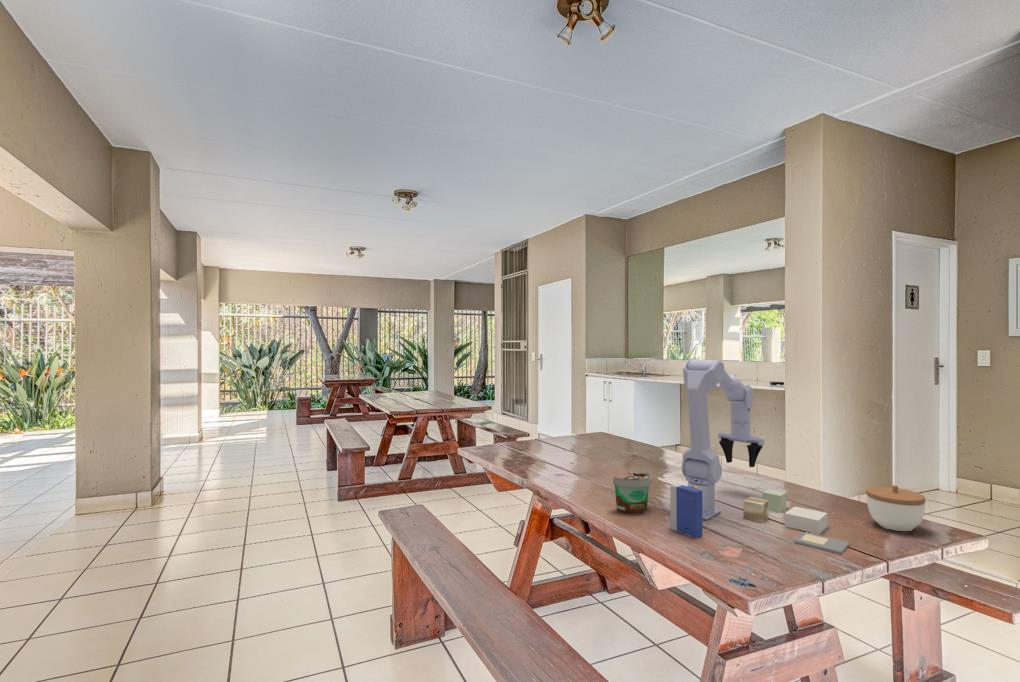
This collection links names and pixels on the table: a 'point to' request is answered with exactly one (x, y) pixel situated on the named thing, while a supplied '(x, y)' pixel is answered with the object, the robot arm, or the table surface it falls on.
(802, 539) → the card
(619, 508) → the food container
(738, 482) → the table surface
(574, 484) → the table surface
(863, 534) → the table surface
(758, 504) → the birch cube
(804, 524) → the base block
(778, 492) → the sage cube
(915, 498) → the lidded bowl
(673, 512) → the walkman
